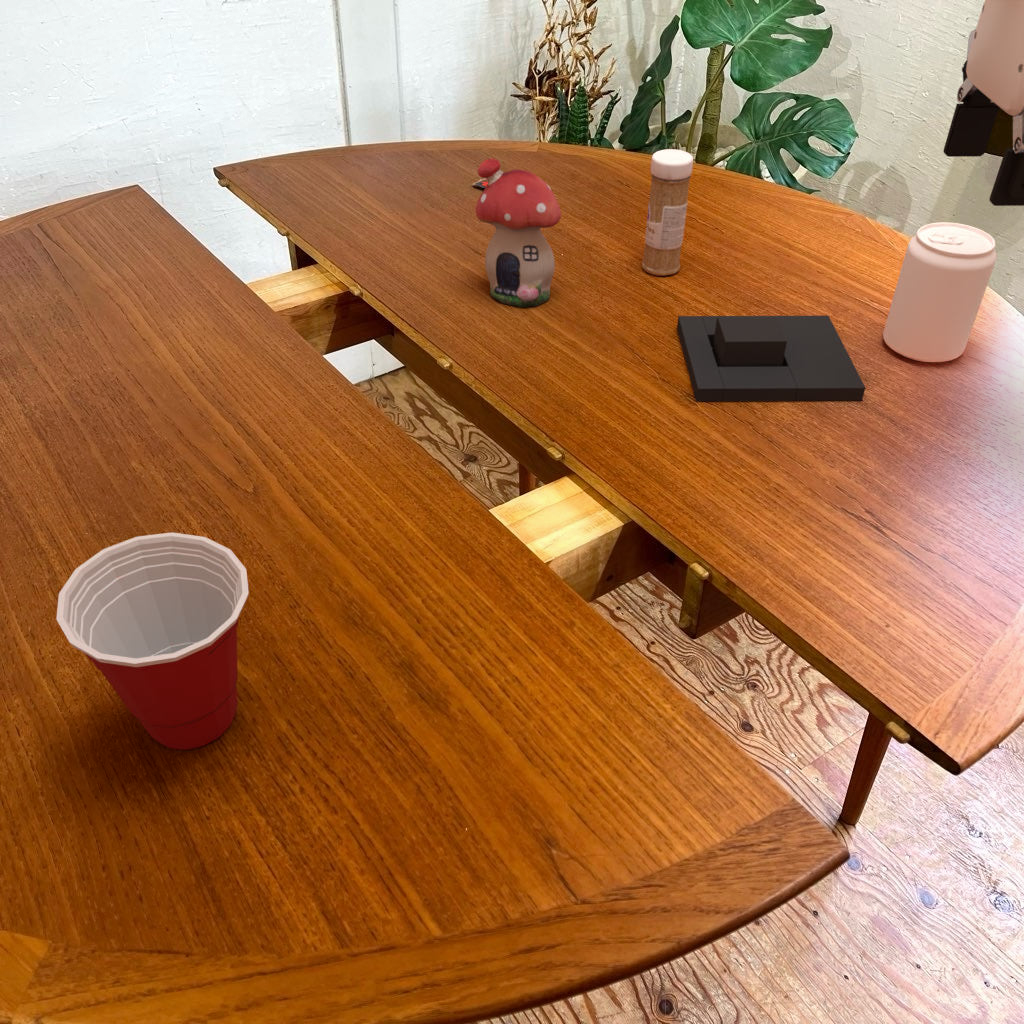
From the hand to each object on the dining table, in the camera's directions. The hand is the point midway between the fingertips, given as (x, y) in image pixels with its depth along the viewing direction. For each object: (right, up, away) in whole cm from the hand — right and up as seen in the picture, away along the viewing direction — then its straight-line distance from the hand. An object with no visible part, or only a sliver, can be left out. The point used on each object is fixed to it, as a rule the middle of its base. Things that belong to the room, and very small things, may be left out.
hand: (985, 178), depth 74 cm
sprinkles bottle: (-19, +3, +40) cm, 44 cm away
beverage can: (+6, -9, +26) cm, 28 cm away
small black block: (-13, -11, +23) cm, 29 cm away
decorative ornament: (-36, -1, +35) cm, 50 cm away
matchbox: (-39, +19, +58) cm, 73 cm away
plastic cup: (-58, -40, -10) cm, 71 cm away
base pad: (-11, -11, +23) cm, 28 cm away
